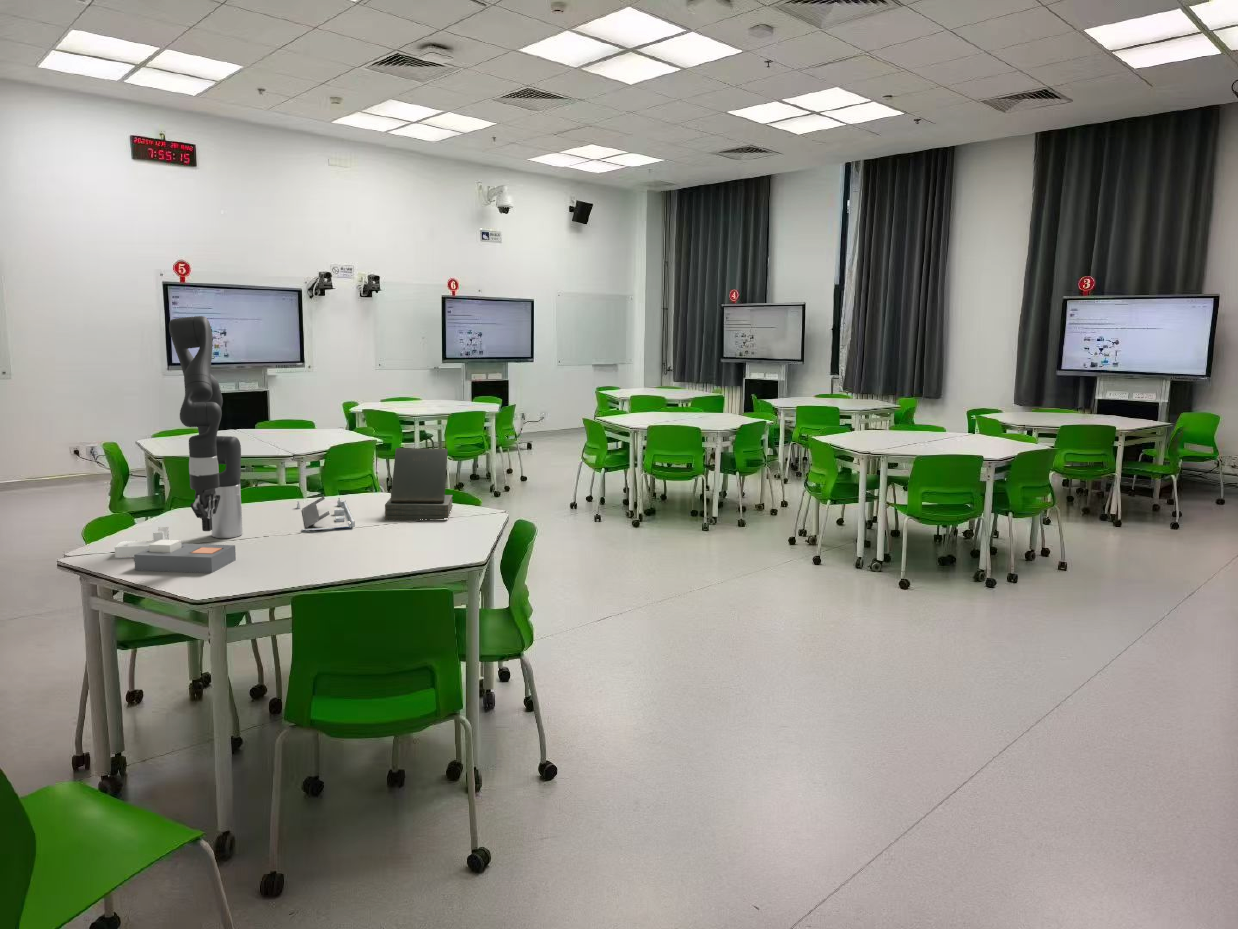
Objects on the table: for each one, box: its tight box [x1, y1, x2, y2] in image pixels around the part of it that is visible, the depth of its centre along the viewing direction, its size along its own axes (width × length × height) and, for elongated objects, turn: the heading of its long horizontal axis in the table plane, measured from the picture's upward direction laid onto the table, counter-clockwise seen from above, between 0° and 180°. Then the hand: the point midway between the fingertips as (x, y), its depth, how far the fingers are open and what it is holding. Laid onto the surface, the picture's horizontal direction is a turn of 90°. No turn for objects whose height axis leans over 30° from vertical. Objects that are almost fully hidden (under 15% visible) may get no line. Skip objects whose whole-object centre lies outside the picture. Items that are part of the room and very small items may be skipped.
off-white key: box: [149, 539, 182, 553], centre depth 241 cm, size 6×6×4 cm
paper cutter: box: [296, 495, 356, 531], centre depth 307 cm, size 18×45×6 cm, turn 23°
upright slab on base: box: [384, 447, 454, 521], centre depth 316 cm, size 23×20×25 cm
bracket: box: [114, 526, 170, 559], centre depth 252 cm, size 13×7×8 cm, turn 106°
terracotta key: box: [191, 547, 222, 554], centre depth 241 cm, size 6×6×4 cm
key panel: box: [133, 542, 237, 574], centre depth 242 cm, size 14×22×4 cm, turn 89°
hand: (207, 530), depth 241 cm, fingers closed
